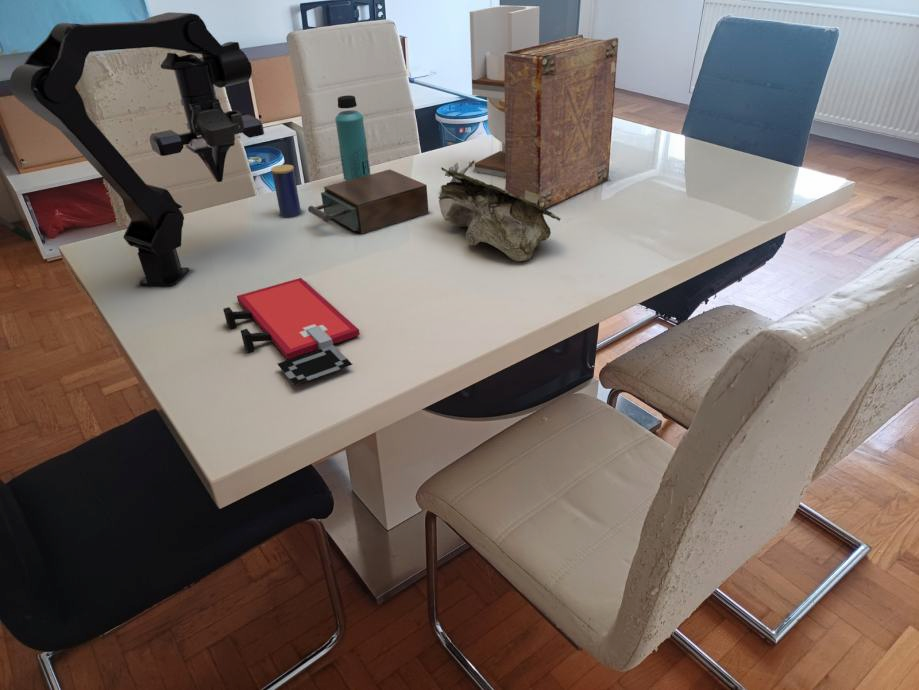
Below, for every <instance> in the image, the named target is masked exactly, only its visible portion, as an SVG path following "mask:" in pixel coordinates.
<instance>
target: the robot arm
mask: <svg viewBox="0 0 919 690" xmlns="http://www.w3.org/2000/svg"><path fill="white" fill-rule="evenodd" d="M145 48H146V49H147V48H155V49H162V50H171V51H181V52H185V53H187V54H185V55H180V56H179V54H177V53H173V52H167V54H166V57H165V58H164V60H163V61H162V63H161V64H160V68H161V69H162V70H169V71H174V75H175V79H176V82H177V87H178V90H179V95H180V104H181V106H182V107H183V111H184V114H185V118H186V122H187V123H186V128H187V130H189V131H188V132H183V133H177V132H175V131H174V130H173V129H168V130H163V131H159V132H153V133H151V134H150V136H149V143H150V146H151V150H152V151H153V152H155V153H157V154H158V155H159V156H160V157H165V156H170V155H175V154H176V155H177V154H180V153H181V152H182V151H183V149H184V146H185V148H186V149H187V150H189V151H190V152H192V153H194V154H197V156H198V157H199V158H200V159H201V161H202V162H203V163H204V165H205V166H206V168H207V169H208V171H209V173H210V174H211V175H212V177H213V178H214V180H215V181H216V182H217V183H222V182H223V179H224V171H225V161H226V157H227V153H228V151H229V150H230V148H232V147H234V146H235V144H236V142H235V141H236V135H238V134H243V135H244V136H246V137H247V138H249V139H251V138H255V137H259V136H260V137H261V136H264V135H265V130H264V125H263V123H262V121H261V120H260V119H259V118H257V117H255V116H252V115H250V114H245V115H242V113H241V111H240V110H239V109H234V110H233V109H232V110H229V111H226V112H225V111H224V110H223V108H222V105H221V102H220V99H219V98H218V97H217V94H216V89H215V87H217V88H219V89H221V88H222V89H223V88H226V87H229V86H233V85H237V84H238V85H239V84H241V83H245V82H248V81H250V79H251V77H252V74H253V70H252V69H253V68H252V63H251V61H250V59H249V58H248V56H247V55H246V53H245V52H244V51H243V50H242V49H241V47H240V42H238V41H228V42H224V43H222V44H221V43H220V42H219V41H218V39H217V38H216V37H215V36H213V34H212V33H211V32H210V31H209V30H208V28H207V25H206V23H205V21H204V20H203V18H201V16H200V15H198V14H196V13H192V12H191V13H190V12H164V13H160V14H156V15H153V16H150V17H147V18H146V19H143V20H139V21H118V22H97V23H96V22H95V23H91V22H90V23H73V22H60V23H57V24H55V25H54V26H53V27H52V29H51V30H50V32H49V34H48V35H47V37H46V38H45V39H44V40H43V41H42V42H41V43H40V44H39V45H38V46H37V47H36V48H35V49H34V50H33V51H32V52H31V53H30V54H29V55H28V57H27V58H26V60H25V61H24V63H23V64H21V65H18V66H17V67H16V68H15V69H13V71H12V72H11V75H10V78H9V83H10V85H9V89H10V91H11V93H12V94H13V97H14V98H15V99H16V100H18V101H19V102H20V103H21V104H22V105H24V106H25V107H26V108H27V109H28V110H30V111H31V112H33V113H34V114H35V115H36V116H38V117H39V118H41V119H43V120H44V121H45V122H47V123H49V124H50V125H52V126H53V127H55V128H56V129H58V130H59V131H60V132H61V133H62V134H63V136H64V137H65V138H66V139H68V141H69V143H71V144H72V145H73V146H74V147H75V148H76V150H77V151H78V152H79V153H80V154H81V155H82V157H83V158H85V159H86V161H87V162H88V163H89V164H90V165H91V166H92V167H93V168H94V169H95V170H96V171H97V173H98V174H99V175H100V176H101V177H102V178H103V179H104V180H105V181H106V183H107V184H108V185H109V186H110V187H111V188H112V189H113V190H114V191H115V193H116V194H117V195H118V196H119V197H120V198H121V200H122V203H123V207H124V209H125V212H126V214H127V216H128V217H129V219H130V222H129V224H128V226H127V227H126V229H125V232H124V235H123V239H124V241H125V242H126V244H128V245H129V246H130V247H134V248H137V250H138V251H137V256H138V259H139V262H140V266H141V268H142V272H143V274H144V277H143V278H142V279H141V280H140V281H139V282H138V283H139V286H152V287H153V286H154V287H157V286H158V287H173V286H175V285H176V284H177V283H178V282H180V280H181V279H182V278H183V277H184V276H186V275H187V274H188V273H189V272H190V267H187V266H186V267H184V266H183V267H182V264H181V260H180V258H179V253H178V251H177V249H178V248H181V247H182V237H183V227H184V221H185V216H184V214H183V212H182V210H181V209H182V208H183V206H182V205H181V204H179V203H178V202H177V201H176V200H175V199H174V198H173V195H172V194H171V193H170V192H169V190H168V189H166V188H162V187H159V186H155V185H151V184H147V183H146V182H145V181H144V180H143V179H142V177H140V175H139V174H138V173H137V172H136V171H135V169H134V168H133V167H132V166H131V164H130V163H129V162H128V161H127V160H126V159H125V158H124V156H123V155H122V154H121V153H120V152H119V150H118V149H117V148H116V147H115V146H114V145H113V143H112V142H111V141H110V140H109V139H108V138H107V136H106V135H105V134H104V133H103V132H102V131H101V129H100V128H99V127H98V126H97V125H96V123H95V122H94V121H93V120H92V119H91V118H90V116H89V114H88V112H87V109H86V106H85V102H84V99H83V97H82V95H81V93H80V92H79V90H78V89H77V87H76V86H77V84H78V83H79V82H80V80H81V78H82V76H83V73H84V70H85V69H84V68H85V65H86V59H87V57H88V56H89V54H90V53H92V52H107V51H119V50H132V49H133V50H134V49H145ZM195 54H196V55H195ZM197 55H201V56H202V57H198V56H197Z"/></svg>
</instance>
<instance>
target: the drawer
mask: <svg viewBox="0 0 919 690" xmlns="http://www.w3.org/2000/svg"><path fill="white" fill-rule="evenodd" d="M320 196H321V202H322V204H321V205H317V206H314V205H309V206H308V208H307V211H308V213H310V214H312V215H314V216H315V217H317V218H318V219H320V220H322V221H323V222H325V223H328V222H330V221H331V219H333V220H335V221H336V222H338V223H339V224H341V225H343V226H345V227H346V228H348V229H350V230H351V231H354V232H357V230H360V228H359V219H358V211H357V206H355V205H353V204H351V203H349V202H347V201H345V200H344V199H342V198H340V197H338V196H336V195H334V194H333V195H332V194H330V193H328V192H326V191H325V190H324V191H322V192H320ZM322 210H323V211H322Z"/></svg>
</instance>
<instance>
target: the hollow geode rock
mask: <svg viewBox="0 0 919 690" xmlns="http://www.w3.org/2000/svg"><path fill="white" fill-rule="evenodd" d="M440 170H441V171H443V172H445V173H446V172H447V174H449V175H450V177H451V178H453V177H454V178H455V179H458V181H459V180H460V181H461V182H450V181H449V182H447V183H446V184H442V185H441V186H440V193H439V196H438V199H439V200H438V204H439V208H440V209H439V210H440V212H441V215H442V217H443V219H444V221H446V222H449V223H450V224H452V225H455V226H456V227H458V228H464V227H465V228H467V230H466V233H465V236H464V237H465V241H466V242H467V243H468V244H469V245H472V246H477V245H478V244H479V243H480V242H482V243H487V244H488V245H490V246H493V247H494V248H496V249H498V250H499V251H500V252H502V253H504V255H506V256H507V257H508V258H509V259H511V260H512V261H515V262H523V261H528V260H530V259H531V258H532V257H533V254H534V250H535V249H536V247H538V246H539V245H540V244H541V242H544V241H546V240H548V239H549V238H550V237H551V233H552V231H551V228H550V226H549V224H548V223H547V221H546V219H545V216H548V217H550V218H551V219H555V220H557V221H558V222H560V221H561V220H562V219H561V217H559V216H557V215H555V214H554V213H552V212H551V211H548V210H547V209H544V208H542V207H541V206H539V205H537V204H536V203H532V202H530V201H528V200H526V199H524V198H523V197H520V196H516V195H513V194H511V193H509V192H507V191H506V189H503V188H500V187H498V186H497V185H493V184H491V183H490V184H488V183H486V182H484V181H482V180H480V179H476V178H473V177H472V176H470V175H469V176H468V175H467V174H465V175H464V174H462V173H458V172H459V171H458V172H456V171H453V170H451V171H450V170H449V169H446V168H444V167H442V166H441V167H440ZM450 177H449V176H446V178H450Z"/></svg>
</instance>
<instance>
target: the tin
mask: <svg viewBox="0 0 919 690" xmlns="http://www.w3.org/2000/svg"><path fill="white" fill-rule="evenodd" d="M270 172H271V173H272V179H273V183H274V189H275V194H276V201H277V204H278V209H279V214H280V216H281V217H282V218H287V219H288V218H295V217H298V216H300V215H301V214H302V209H301V203H300V202H301V201H300V197H299V193H298V192H299V191H298V188H297V187H298V186H297V180H296V175H295V167H294V165H292V164H279V165H275V166H272V167H271V168H270Z"/></svg>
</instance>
